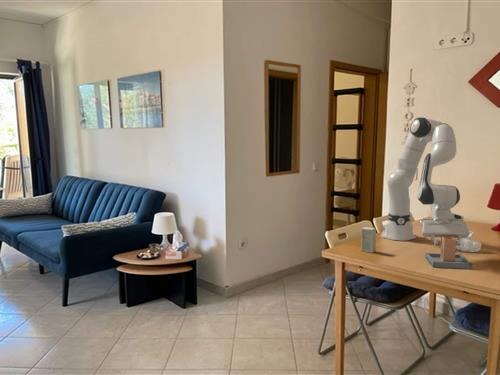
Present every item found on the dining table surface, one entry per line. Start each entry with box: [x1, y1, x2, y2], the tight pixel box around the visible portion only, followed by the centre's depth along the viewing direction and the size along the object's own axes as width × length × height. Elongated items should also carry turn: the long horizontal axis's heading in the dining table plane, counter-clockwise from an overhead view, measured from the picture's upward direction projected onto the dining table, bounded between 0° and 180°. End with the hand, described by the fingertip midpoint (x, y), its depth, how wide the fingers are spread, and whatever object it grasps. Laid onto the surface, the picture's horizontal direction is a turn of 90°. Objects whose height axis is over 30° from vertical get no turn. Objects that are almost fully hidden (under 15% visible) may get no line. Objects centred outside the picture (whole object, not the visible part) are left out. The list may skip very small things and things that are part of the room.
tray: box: [424, 252, 473, 270], centre depth 186 cm, size 14×16×2 cm
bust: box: [456, 230, 482, 253], centre depth 205 cm, size 12×8×11 cm
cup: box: [440, 236, 457, 262], centre depth 185 cm, size 5×5×11 cm
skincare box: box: [360, 226, 377, 254], centre depth 206 cm, size 6×4×12 cm
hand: (447, 244), depth 185 cm, fingers open, 8 cm apart
